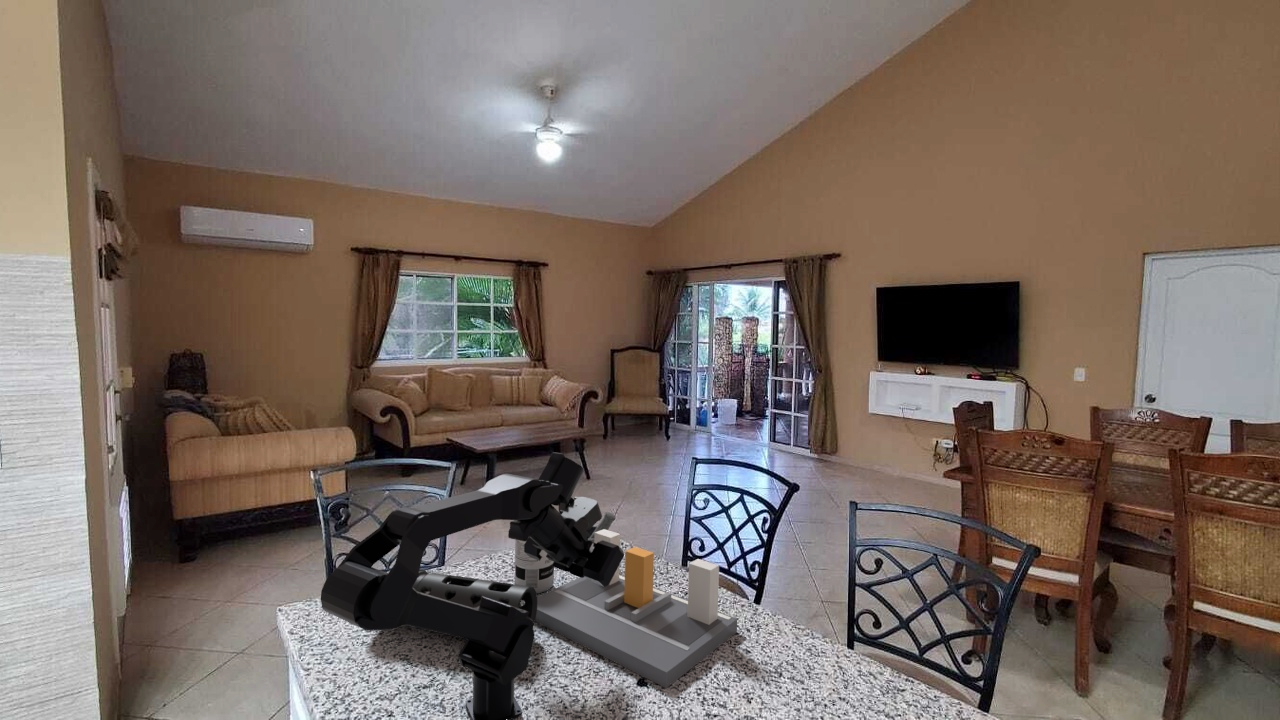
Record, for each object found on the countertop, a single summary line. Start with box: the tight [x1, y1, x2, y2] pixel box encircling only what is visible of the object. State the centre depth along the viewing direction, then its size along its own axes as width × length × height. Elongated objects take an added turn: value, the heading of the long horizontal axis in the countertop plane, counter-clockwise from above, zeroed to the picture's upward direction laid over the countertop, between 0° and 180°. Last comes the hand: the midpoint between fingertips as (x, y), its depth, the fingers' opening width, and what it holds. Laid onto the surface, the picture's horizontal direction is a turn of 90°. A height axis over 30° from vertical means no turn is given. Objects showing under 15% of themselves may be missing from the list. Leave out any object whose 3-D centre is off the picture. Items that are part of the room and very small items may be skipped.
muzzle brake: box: [386, 568, 538, 632], centre depth 100 cm, size 10×28×10 cm, turn 76°
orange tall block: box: [624, 546, 655, 608], centre depth 107 cm, size 3×5×10 cm, turn 51°
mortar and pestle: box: [587, 511, 616, 542], centre depth 134 cm, size 11×9×12 cm
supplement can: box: [514, 537, 555, 595], centre depth 119 cm, size 8×8×15 cm
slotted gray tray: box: [523, 529, 738, 689], centre depth 105 cm, size 22×34×12 cm, turn 51°
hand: (595, 574), depth 97 cm, fingers closed
